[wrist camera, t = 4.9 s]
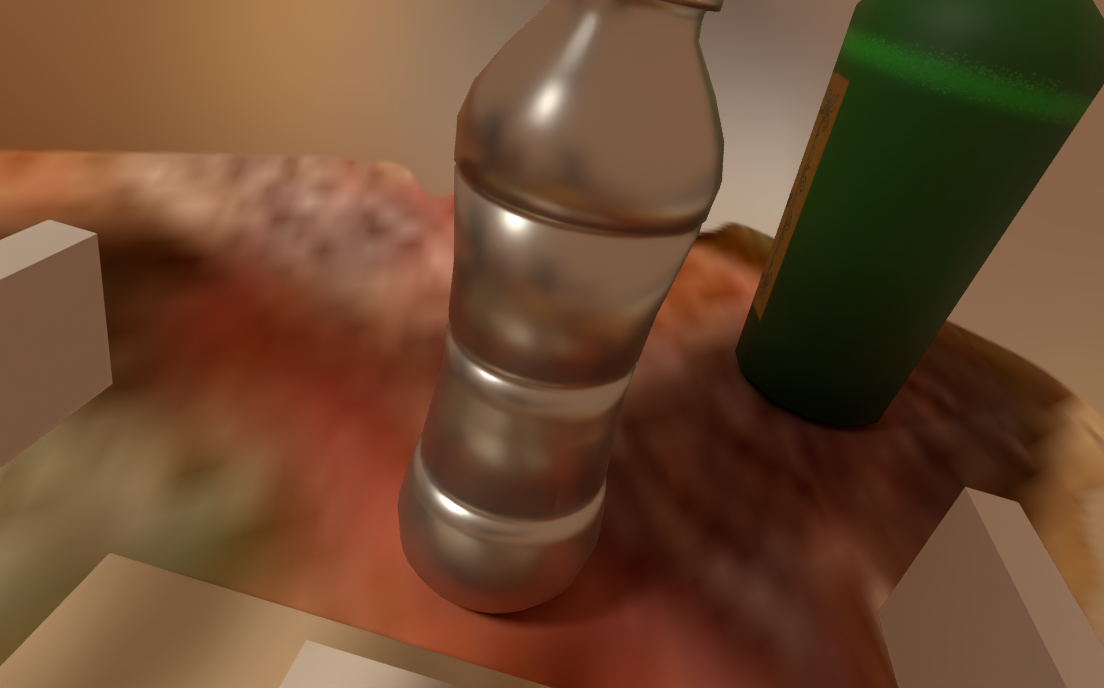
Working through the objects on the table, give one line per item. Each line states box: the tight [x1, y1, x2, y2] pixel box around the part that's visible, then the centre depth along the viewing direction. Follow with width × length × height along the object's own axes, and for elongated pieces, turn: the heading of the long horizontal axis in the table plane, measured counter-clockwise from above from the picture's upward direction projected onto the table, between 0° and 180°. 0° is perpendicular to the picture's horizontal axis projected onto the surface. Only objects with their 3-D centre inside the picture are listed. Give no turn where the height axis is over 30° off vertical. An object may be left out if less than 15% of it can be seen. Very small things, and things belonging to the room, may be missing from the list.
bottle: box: [735, 0, 1104, 427], centre depth 34 cm, size 11×11×28 cm
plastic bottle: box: [398, 0, 724, 613], centre depth 20 cm, size 6×7×20 cm
